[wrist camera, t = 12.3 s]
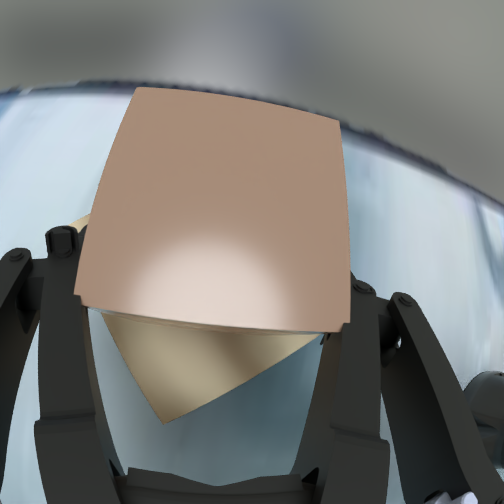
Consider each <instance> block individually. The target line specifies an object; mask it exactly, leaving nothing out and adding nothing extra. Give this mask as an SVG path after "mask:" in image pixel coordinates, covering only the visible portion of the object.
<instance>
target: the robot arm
mask: <svg viewBox="0 0 504 504" xmlns="http://www.w3.org/2000/svg"><path fill="white" fill-rule="evenodd" d="M87 225H88V224H87ZM87 225H85V226H84V227H83V228H82V230H81V231H80V232H79V233H78V231H77V229H76V228H75V227H72V226H58V227H54V228H52V229H50V230H49V231H47V233H46V234H45V238H46V245H47V252H48V257H47V258H44V259H32V256H31V252H30V250H28V249H26V248H15V249H12V250H10V251H9V252H7V253H6V254H5V255H4V256H3V257H2V259H1V260H0V492H1V487H2V483H3V478H4V470H5V462H6V453H7V445H8V438H9V431H10V426H11V420H12V415H13V410H14V405H15V400H16V396H17V392H18V388H19V384H20V380H21V376H22V373H23V369H24V365H25V362H26V359H27V355H28V352H29V349H30V346H31V343H32V340H33V337H34V334H35V331H36V328H37V326H38V323H39V340H38V385H39V403H40V420H37V421H35V424H34V438H35V445H36V452H37V459H38V464H39V470H40V475H41V480H42V484H43V489H44V493H45V497H46V501H47V504H386V496H387V487H388V477H389V464H390V444H389V443H388V441H387V440H382V439H381V438H380V434H379V432H380V405H381V393H382V397H383V401H384V405H385V409H386V413H387V417H388V421H389V426H390V430H391V435H392V439H393V444H394V449H395V454H396V459H397V464H398V470H399V475H400V481H401V487H402V491H403V496H404V500H405V503H406V504H504V482H503V480H502V479H501V477H500V475H499V474H498V472H497V470H496V469H504V373H502V372H498V371H492V372H483V373H481V374H479V375H478V376H477V377H475V378H474V379H473V380H472V381H471V383H470V384H469V385H468V386H467V388H466V389H465V391H464V393H463V391H462V389H461V386H460V384H459V382H458V380H457V378H456V376H455V373H454V371H453V369H452V367H451V365H450V363H449V361H448V359H447V357H446V355H445V353H444V351H443V349H442V347H441V345H440V343H439V341H438V339H437V337H436V336H435V334H434V332H433V330H432V328H431V326H430V324H429V323H428V321H427V319H426V317H425V316H424V314H423V312H422V310H421V308H420V307H419V305H418V303H417V302H416V301H415V300H414V299H413V298H412V297H411V296H410V295H408V294H406V293H401V292H395V293H393V295H392V297H391V299H390V300H386V299H383V298H379V297H376V292H375V290H374V289H373V287H372V286H370V285H369V284H367V283H365V282H363V281H360V280H357V279H356V278H355V276H354V275H353V273H352V272H351V270H350V323H343V327H342V330H341V332H339V333H332V334H324V336H323V338H322V341H321V343H320V345H322V344H323V349H322V354H321V359H320V364H319V368H318V373H317V378H316V382H315V387H314V391H313V396H312V400H311V404H310V408H309V412H308V416H307V420H306V424H305V428H304V432H303V435H302V439H301V443H300V446H299V450H298V453H297V457H296V460H295V463H294V466H293V468H292V470H291V472H290V474H289V475H280V476H265V477H257V478H254V479H250V480H246V481H242V482H238V483H233V484H229V485H224V486H211V485H207V484H203V483H200V482H196V481H193V480H189V479H186V478H183V477H180V476H177V475H174V474H170V473H162V472H155V471H148V470H142V469H136V468H131V467H128V475H125V473H124V471H123V468H122V466H121V464H120V461H119V459H118V456H117V453H116V450H115V447H114V444H113V440H112V437H111V434H110V430H109V426H108V423H107V419H106V415H105V411H104V407H103V402H102V398H101V393H100V389H99V384H98V379H97V374H96V368H95V362H94V356H93V350H92V343H91V335H90V327H89V318H88V308H86V307H83V306H82V305H81V296H80V295H75V294H74V289H75V283H76V277H77V272H78V266H79V261H80V256H81V251H82V247H83V242H84V238H85V233H86V229H87ZM39 320H40V322H39ZM400 339H401V345H400V348H399V346H398V342H399V340H400ZM0 504H2V503H1V501H0Z"/></svg>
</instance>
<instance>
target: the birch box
mask: <svg viewBox="0 0 504 504" xmlns="http://www.w3.org/2000/svg"><path fill="white" fill-rule="evenodd" d="M90 214H91V213H90ZM90 214H88V215H86V216H84V217H82V218H81V219H79V220H77V221H75V222H73V223H71V224H70V225H68V226H72V227H75V228H76V229H77V231H78V233H79V232H80V231H81V230H82V228H83V227H84V226H85V225H87V224H88V221H89V217H90ZM101 314H102V316H103V318H104V321H105V323H106V325H107V327H108V329H109V331H110V333H111V335H112V337H113V339H114V341H115V343H116V345H117V347H118V349H119V351H120V353H121V355H122V357H123V359H124V361H125V363H126V364H127V366H128V368H129V370H130V372H131V373H132V375H133V377H134V379H135V380H136V382H137V384H138V386H139V387H140V389H141V391H142V392H143V394H144V396H145V397H146V399H147V401H148V402H149V404H150V405H151V407H152V409H153V410H154V412H155V413H156V415H157V416H158V418H159V419H160V421H161V422H162V424H163V425H164V424H166V423H168V422H170V421H172V420H174V419H177V418H179V417H181V416H183V415H185V414H187V413H189V412H191V411H193V410H195V409H197V408H199V407H201V406H203V405H204V404H206V403H208V402H210V401H212V400H214V399H216V398H218V397H220V396H221V395H223V394H225V393H227V392H229V391H230V390H232V389H234V388H236V387H238V386H239V385H241V384H243V383H244V382H246V381H248V380H250V379H251V378H253V377H255V376H256V375H258V374H260V373H261V372H263V371H265V370H266V369H268V368H270V367H271V366H273V365H275V364H276V363H278V362H279V361H281V360H282V359H284V358H286V357H287V356H289V355H290V354H292V353H293V352H295V351H296V350H298V349H300V348H301V347H303V346H304V345H306V344H307V343H309V342H310V341H311V340H313V339H314V338H316V337H317V336H319V335H320V334H312V335H277V336H260V335H246V334H234V333H222V332H212V331H202V330H193V329H185V328H177V327H169V326H161V325H154V324H147V323H141V322H136V321H132V320H128V319H124V318H121V317H117V316H113V315H110V314H106V313H103V312H101Z"/></svg>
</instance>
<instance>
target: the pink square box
mask: <svg viewBox="0 0 504 504" xmlns="http://www.w3.org/2000/svg"><path fill="white" fill-rule="evenodd" d="M74 294H75V295H80V296H81V305H82V306H83V307H86V308H89V309H93V310H96V311H99V312H103V313H106V314H110V315H113V316H117V317H121V318H124V319H128V320H132V321H136V322H141V323H147V324H154V325H161V326H169V327H177V328H185V329H193V330H202V331H212V332H222V333H234V334H246V335H260V336H277V335H312V334H332V333H339V332H341V330H342V327H343V323H350V239H349V219H348V203H347V190H346V178H345V168H344V158H343V149H342V141H341V133H340V126H339V121H337V120H334V119H330V118H327V117H323V116H320V115H316V114H312V113H308V112H305V111H301V110H297V109H292V108H288V107H284V106H279V105H275V104H270V103H265V102H260V101H255V100H250V99H244V98H238V97H232V96H226V95H219V94H212V93H204V92H196V91H186V90H176V89H163V88H147V87H137V88H136V90H135V92H134V95H133V97H132V99H131V101H130V103H129V106H128V108H127V110H126V113H125V115H124V117H123V120H122V122H121V124H120V127H119V129H118V132H117V134H116V137H115V140H114V142H113V145H112V148H111V150H110V153H109V156H108V159H107V161H106V164H105V167H104V170H103V173H102V176H101V179H100V183H99V186H98V189H97V192H96V196H95V199H94V203H93V206H92V210H91V214H90V217H89V221H88V225H87V229H86V233H85V238H84V242H83V247H82V251H81V256H80V261H79V266H78V272H77V277H76V283H75V289H74Z"/></svg>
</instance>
